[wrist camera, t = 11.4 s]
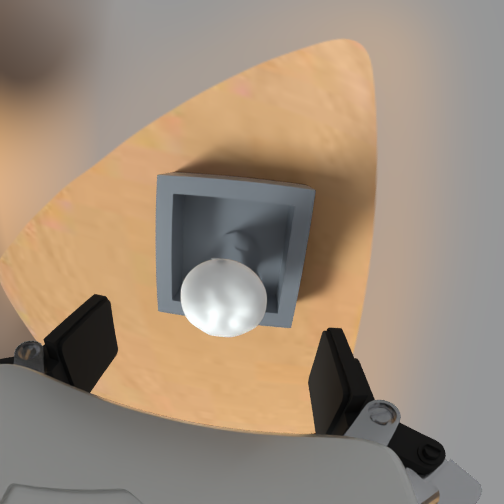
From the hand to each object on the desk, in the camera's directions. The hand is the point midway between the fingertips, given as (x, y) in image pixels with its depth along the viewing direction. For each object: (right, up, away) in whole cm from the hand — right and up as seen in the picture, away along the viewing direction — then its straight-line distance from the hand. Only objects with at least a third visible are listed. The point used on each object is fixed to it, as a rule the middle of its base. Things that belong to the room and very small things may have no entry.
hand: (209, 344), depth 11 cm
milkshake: (+1, +4, +11) cm, 12 cm away
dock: (0, +5, +11) cm, 12 cm away
